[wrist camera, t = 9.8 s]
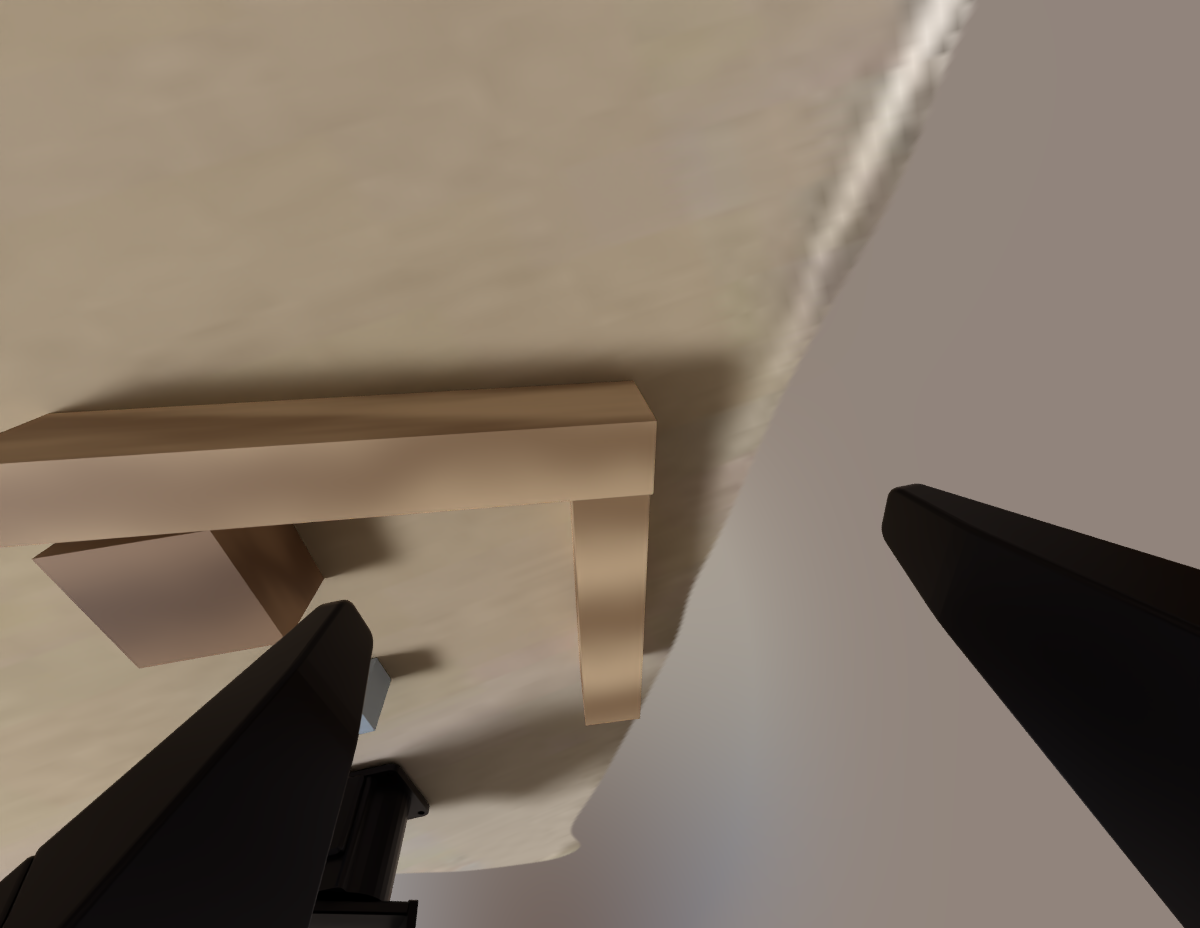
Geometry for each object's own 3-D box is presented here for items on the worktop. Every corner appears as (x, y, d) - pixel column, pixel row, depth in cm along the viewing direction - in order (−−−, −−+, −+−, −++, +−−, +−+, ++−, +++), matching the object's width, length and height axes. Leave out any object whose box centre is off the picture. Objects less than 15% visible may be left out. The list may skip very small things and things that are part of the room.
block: (325, 576, 22) (286, 642, 19) (201, 597, 22) (138, 668, 19) (267, 473, 19) (209, 530, 16) (123, 496, 19) (31, 558, 16)
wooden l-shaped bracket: (627, 656, 28) (641, 727, 24) (243, 701, 26) (191, 787, 22) (632, 379, 19) (656, 421, 15) (52, 411, 17) (-91, 469, 13)
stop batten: (391, 679, 26) (375, 730, 24) (255, 709, 26) (223, 764, 23) (376, 657, 25) (358, 708, 23) (235, 689, 25) (200, 744, 22)
